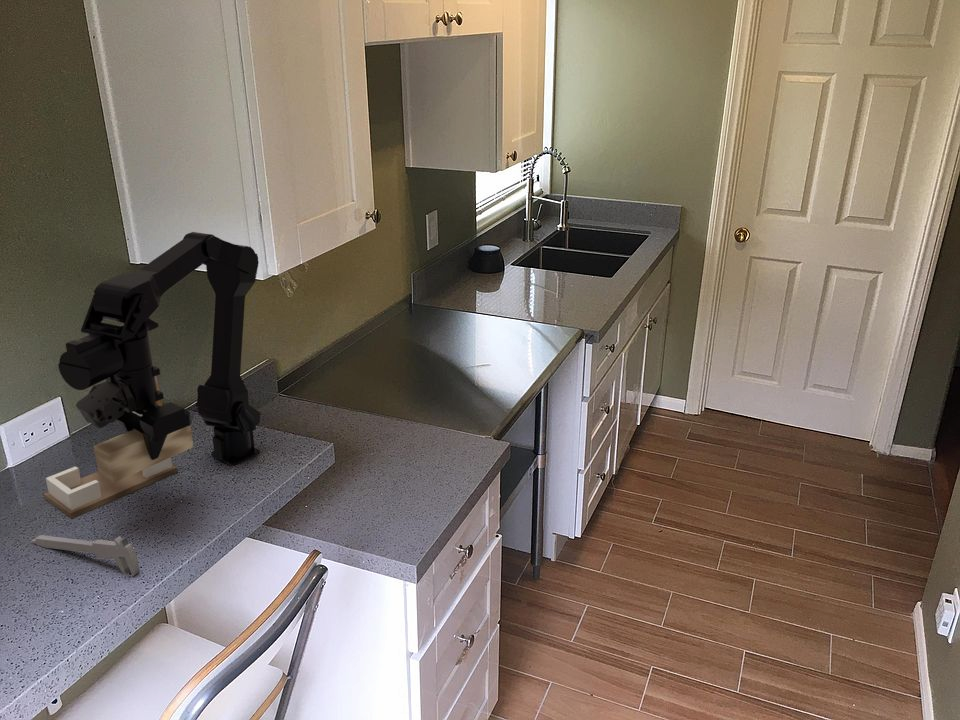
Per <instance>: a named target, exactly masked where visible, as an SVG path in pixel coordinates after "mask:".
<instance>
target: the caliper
mask: <svg viewBox="0 0 960 720" xmlns="http://www.w3.org/2000/svg"><path fill="white" fill-rule="evenodd" d="M29 543H31V544H36V545H37V546H39V547H42V548H45V549H52V550H53V549H54V550H63V551H71V552H78V553H80V552H81V553H85V554H86V553H88V554H92V555H93V554H95V556H96V558H97V559H98V560H99V559H100V560H101V559H103V560H109V559H113V561H115V563H116V565H117V566H118V568H119V570H120V571H121V573H122V572H123V573H122V574H124V573H126V574H127V573H128V572H130V574H131V576H132V577H134V576H135V575H137V574H138V573H139V572H140V564H139V561H138V555H137V553H136V550H135V548H134V546H133V543H131V542H130V543H129V541H128V538H127V536H125V537H122V536H121V535H119V536H118V537H116V538H115V539H114V540H106V539H105V540H104V539H96V540H94V541H93V540H85V539H76V538H69V537H61V536H50V535H42V534H39V535H38V536H37V537H34V538H33V539H31V540H30V542H29ZM129 570H130V571H129Z"/></svg>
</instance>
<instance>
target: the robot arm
mask: <svg viewBox="0 0 960 720" xmlns="http://www.w3.org/2000/svg"><path fill="white" fill-rule="evenodd" d="M258 256H259V255H258V253H256V252H255V250H254V249H253V248H252V246H248V245H243V244H242V245H241V244H235V243H231V242H228V241H226V240H223V239H222V238H219V237H217V236H215V235H214V234H210V233H204V232H203V233H202V232H196V231H191V232H188V233H186V234H185V235H184V236H183V238H182V240H180V241H179V242H177V243H175V244H174V245H172V246H171V247H170V248H169V249H167V250H165V251H164V252H163V253H162V254H159V256H157V257H156V258H154V259H153V260H152V261H150V262H148V263H147V264H146V265H145V266H142V267H141V268H140V269H138V270H136V271H133V272H128V273H123V274H119V275H116V276H113V277H111V278H109V279H106V280H104V281H102V282H100V283H99V284H98V285H97V286H96V287H95V289H94V290H93V293H94V294H93V295H92V299H91V302H90V304H89V307H88V310H87V312H86V315H85V317H84V321H83V324H82V327H81V328H80V332H81V333H82V334H87V335H86V336H83V337H82V338H79V339H74V340H70V341H68V342H66V343H65V349H66V350H65V352H62V354H61V355H60V357H59V363H58V364H57V365H58V371H59V373H60V375H61V377H62V379H63V380H64V381H65V383H67V385H68V386H70V387H71V388H72V389H74V390H78V391H84V390H86V389H88V388H91V387H92V388H91V389H90V391H89V392H88V393H87V395H85V396H83V397H82V398H81V399H79V400H78V401H77V402H76V403H75V407H76V409H77V410H78V411H79V413H80V414H81V415H82V417H83V418H84V420H85V421H86V423H89V424H92V426H94V427H95V428H97V429H101V428H104V427H107V426H108V425H109V424H110V423H111V424H113V423H114V422H115V421H118V422H119V424H120V425H121V427H122V428H123V430H124V432H125V433H127V432H129V431H131V430H136V431H138V432H140V433H142V434H143V437H144V440H145V444H146V447H147V450H148V453H149V456H150V458H151V459H152V460H154V459H157V458H158V457H159V454H160V452H161V449H162V447H163V444H164V442H165V439H166V437H167V435H168V434H170V433H172V432H175V431H177V430H180V429H182V428H185V427H187V426H189V425H192V419H191V412H190V411H189V410H187V409H185V408H183V407H181V406H180V405H177V404H175V403H173V402H168V403H165V404H164V405H162V406H159V405H157V404H156V401H159V400H161V399H162V400H164V392H162V391H158V390H157V388H156V381H155V376H156V377H157V376H159V375H161V371H160V370H161V369H160V367H157V366H155V365H154V362H153V355H152V349H151V341H150V336H149V332H150V331H154V330H155V329H157V328H159V323H158V322H156V321H154V320H152V319H151V318H150V317H151V316H152V315H154V312H156V310H157V309H158V308H159V306H160V302H161V297H162V296H163V295H164V294H165V293H167V292H168V291H169V290H170V289H171V288H173V287H174V286H176V285H177V284H178V283H179V282H181V281H183V280H184V278H186V277H187V276H190V274H192V273H193V272H194V271H195V270H197V269H198V268H199V267H200V266H202V265H204V266H205V269H206V270H205V271H206V278H207V280H208V283H209V285H210V287H211V288H212V290H213V292H214V311H213V312H214V314H213V327H212V328H213V330H212V331H213V332H212V344H211V345H212V346H211V349H212V350H211V366H210V376H209V377H208V378H207V379H206V381H204V383H203V384H199V385H198V386H197V390H196V391H197V400H196V404H195V407H196V408H197V413H198V415H199V416H200V417H201V418H202V419H203V423H204V424H205V426H207V427H213V436H212V437H211V438H212V445H213V450H212V451H211V456H212V457H214V458H216V459H218V460H220V461H222V462H224V463H225V464H227V465H229V466H235V465H237V464H239V463H241V462H244V461H247V460H249V459H251V458H253V457H255V456H257V455H259V454H260V453H261V450H260V449H259V448H256V446H255V440H254V439H255V438H254V431H256V429H257V426H259V425H260V422H261V421H260V420H261V412H260V411H259V410H257V409H256V408H254V407H253V406H252V405H250V403H249V391H248V389H247V387H246V385H245V383H244V381H243V379H242V377H241V369H242V368H241V367H242V350H243V336H244V335H243V334H244V319H245V305H246V303H245V302H246V296H247V294H248V293H249V292H250V290H251V289H252V287H253V286H254V285H255V282H256V279H257V273H258V267H259V263H260V262H259V257H258ZM103 320H107V321H111V322H117V323H121V324H120V325H116V324H112V323H105V322H103ZM103 381H104V382H103Z"/></svg>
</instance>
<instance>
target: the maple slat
mask: <svg viewBox="0 0 960 720" xmlns="http://www.w3.org/2000/svg"><path fill="white" fill-rule="evenodd" d="M191 425H192V424H191ZM191 425H189V426H187V427H185V428H182V429H180V430H177V431H175V432H172V433H170V434H168V435H167V437H166V439H165V442H164V444H163V447H162V449H161V452H160V454H159V457H158V458H157V459H154V460H152V459H151V458H150V456H149V453H148V450H147V447H146V444H145V440H144V437H143V434H142V433H140V432H138V431H136V430H131V431H129V432H127V433H126V432H125V433H122V434H120V435H117V436H115V437H112V438H109V439H107V440H105V441H102V442H99V443H97V444H95V445H93V451H94V457H95V461H96V467H97V472H98V473H99V475H101V476H102V477H104V478H106V479H107V480H109V481H111V482H112V483H115V482H117V481H119V480H122V479H124V478H126V477H128V476H130V475H133V474H135V473H137V472H139V471H142V470H144V469H146V468H148V467H150V466H153V465H155V464H157V463H159V462H162V461H164V460H166V459H168V458H170V457H171V458H172V457H175V456H177V455H180V454H181V453H183V452H185V451H187V450H190V449H193V448H194V442H193V440H194V439H193V434H192V427H191Z"/></svg>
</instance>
